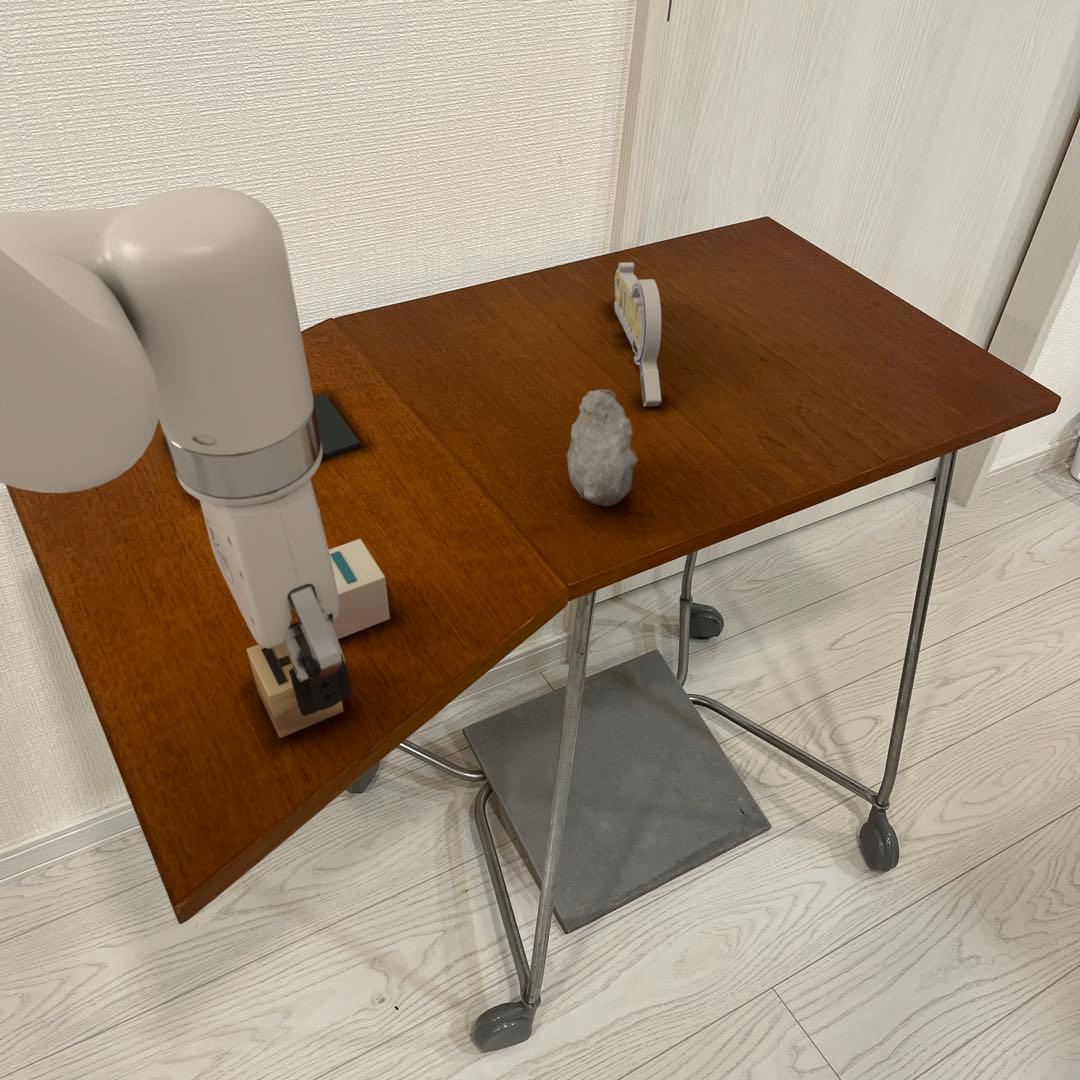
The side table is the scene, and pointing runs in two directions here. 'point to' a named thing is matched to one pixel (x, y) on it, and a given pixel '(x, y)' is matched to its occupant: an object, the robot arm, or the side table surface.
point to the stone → (601, 450)
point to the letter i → (358, 589)
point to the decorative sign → (641, 326)
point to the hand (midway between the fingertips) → (297, 648)
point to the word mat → (333, 429)
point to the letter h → (283, 687)
